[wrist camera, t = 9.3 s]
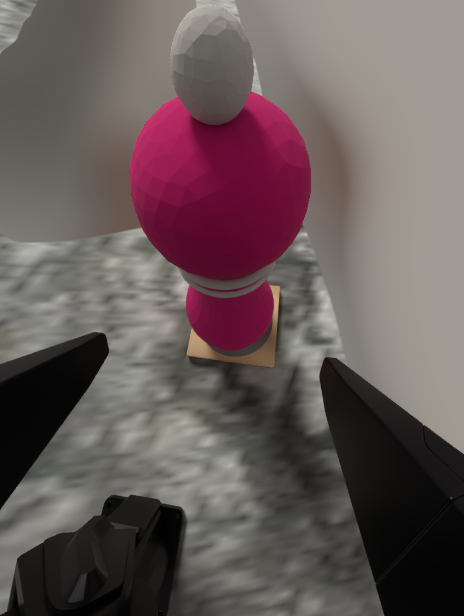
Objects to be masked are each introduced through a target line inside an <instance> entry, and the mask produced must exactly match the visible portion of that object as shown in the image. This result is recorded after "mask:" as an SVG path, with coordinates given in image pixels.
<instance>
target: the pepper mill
mask: <svg viewBox="0 0 464 616" xmlns="http://www.w3.org/2000/svg"><path fill="white" fill-rule="evenodd" d="M170 64H171V74H172V80H173V84H174V87H175V91H176V93H177V95H178V97H176V98H174V99H173V100H171V101H169V102H167V103H165V104H163V105H162V106H161V107H160V108H159V109H158V110H157V111H156V113H155V114H154V115H153V116H152V117H151V118H150V119H149V120H148V121H147V122H146V124H145V125H144V127H143V129H142V130H141V133H140V134H139V136H138V137H137V141H136V144H135V148H134V152H133V155H132V159H131V164H130V170H129V173H130V185H131V196H132V200H133V204H134V208H135V212H136V214H137V217H138V219H139V221H140V224H141V227H142V229H143V231H144V232H145V234H146V236H147V237H148V239H149V240H150V242H151V243H152V244H153V246H154V247H155V248H156V249H157V250H158V251H159V252H160V253H161V254H162V255H163V256H164V257H165V258H166V259H167V260H168V261H169V262H170V263H172V264H174V265H175V266H177V267H178V269H179V271H180V273H181V275H182V276H183V278H184V279H185V281H187V282H188V283H189V284H190V286H189V288H188V292H187V297H186V311H187V316H188V319H189V322H190V324H191V326H192V328H193V330H194V332H195V333H196V334H197V335H198V336H199V337H200V338H201V339H202V340H203V341H204V342H206V343H207V344H209V345H211V346H214V347H216V348H219V349H221V350H225V351H237V350H241V349H243V348H246V347H247V346H249V345H251V344H253V343H254V342H256V341H257V340H258V339H259V338H261V337H262V336H263V334H264V333H265V332H266V330H267V329H268V327H269V325H270V323H271V320H272V316H273V311H274V298H273V293H272V290H271V288H270V285H269V283H268V281H267V280H266V279H267V278H268V277H269V276H270V274H271V272H272V270H273V268H274V266H275V261H276V260H277V259H278V258H279V257H280V256H281V255H282V254H283V253H284V252H285V251H286V250H287V248H288V247H289V246H290V245H291V244H292V243H293V241H294V239H295V238H296V236H297V234H298V233H299V231H300V228H301V225H302V223H303V220H304V217H305V214H306V212H307V207H308V202H309V198H310V193H311V168H310V162H309V156H308V153H307V150H306V147H305V143H304V140H303V138H302V137H301V135H300V133H299V132H298V130H297V128H296V127H295V125H294V124H293V123H292V121H291V120H290V119H289V117H288V116H287V115H286V114H285V113H284V112H283V111H282V110H281V109H280V108H278V107H277V106H276V105H274V104H273V103H271V102H270V101H268V100H267V99H265V98H264V97H263V96H261V95H259V94H256V93H254V92H251V88H252V82H253V74H254V67H253V54H252V49H251V46H250V44H249V41H248V38H247V35H246V32H245V30H244V29H243V27H242V25H241V24H240V22H239V21H238V19H237V18H236V17H235V16H234V15H232V14H231V13H230V12H229V11H228V10H226V9H225V8H223V7H219V6H215V5H212V4H208V5H202V6H199V7H197V8H196V9H194V10H192V11H191V12H189V13H188V14H187V15H186V16H185V18H184V19H183V20H182V22H181V23H180V25H179V28H178V29H177V32H176V34H175V37H174V40H173V43H172V48H171V56H170Z"/></svg>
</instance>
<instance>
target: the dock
mask: <svg viewBox="0 0 464 616" xmlns="http://www.w3.org/2000/svg"><path fill="white" fill-rule="evenodd" d="M270 288H271V290H272V293H273V298H274V311H273V316H272V320H271V323H270V325H269V327H268V329H267V330H266V332H265V333H264V334H263V336H262V337H261V338H259V339H258V340H257V341H256V342H254V343H253V344H251V345H249V346H247V347H246V348H243V349H241V350H237V351H225V350H221V349H219V348H216V347H214V346H211V345H209V344H207V343H206V342H204V341H203V340H202V339H201V338H200V337H199V336H198V335H197V334H196V333H195V332H194V330H193V328H192V331H191V336H190V341H189V346H188V351H187V356H189V357H196V358H204V359H211V360H218V361H226V362H233V363H240V364H248V365H255V366H262V367H270V368H274V362H275V348H276V334H277V319H278V305H279V291H280V286H272V285H270Z"/></svg>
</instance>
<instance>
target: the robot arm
mask: <svg viewBox="0 0 464 616" xmlns="http://www.w3.org/2000/svg"><path fill="white" fill-rule="evenodd" d="M108 353H109V347H108V343H107V338H106V335H105V334H104V333H98V332H93V333H90V334H87V335H84V336H81V337H78V338H75V339H73V340H70V341H67V342H64V343H61V344H58V345H55V346H52V347H49V348H46V349H43V350H40V351H38V352H35V353H32V354H29V355H26V356H23V357H20V358H17V359H14V360H11V361H8V362H6V363H3V364H0V509H1V508H2V507H3V505H4V504H5V502H6V501H7V500H8V498H9V497H10V495H11V494H12V493H13V491H14V490H15V489H16V487H17V486H18V484H19V483H20V482H21V480H22V479H23V478H24V476H25V475H26V473H27V472H28V471H29V469H30V468H31V467H32V465H33V464H34V462H35V461H36V460H37V458H38V457H39V455H40V454H41V453H42V451H43V450H44V449H45V447H46V446H47V444H48V443H49V442H50V440H51V439H52V438H53V436H54V435H55V433H56V432H57V431H58V429H59V428H60V426H61V425H62V424H63V422H64V421H65V420H66V418H67V417H68V415H69V414H70V413H71V411H72V410H73V409H74V407H75V406H76V404H77V403H78V402H79V400H80V399H81V398H82V396H83V395H84V393H85V392H86V391H87V389H88V388H89V386H90V385H91V383H92V381H93V380H94V378H95V376H96V375H97V373H98V371H99V369H100V368H101V366H102V364H103V363H104V361H105V359H106V357H107V356H108ZM319 378H320V385H321V390H322V396H323V402H324V408H325V413H326V417H327V421H328V424H329V428H330V431H331V435H332V438H333V441H334V445H335V448H336V452H337V455H338V458H339V462H340V465H341V469H342V472H343V475H344V479H345V482H346V486H347V489H348V492H349V496H350V499H351V503H352V506H353V509H354V513H355V516H356V520H357V523H358V526H359V530H360V533H361V537H362V540H363V543H364V547H365V550H366V554H367V557H368V560H369V564H370V567H371V571H372V574H373V577H374V581H375V583H377V584H376V588H377V592H378V595H379V599H380V602H381V605H382V609H383V612H384V616H464V454H463V453H461V452H460V451H459V450H457V449H456V448H454V447H453V446H452V445H450V444H449V443H448V442H446V441H445V440H444V439H442V438H441V437H440V436H438V435H437V434H435V433H434V432H433V431H432V430H430V429H429V428H428V427H426V426H425V425H423V424H422V423H421V422H419V421H418V420H417V419H416V418H414V417H413V416H412V415H410V414H409V413H408V412H407V411H405V410H404V409H403V408H401V407H400V406H399V405H397V404H396V403H395V402H393V401H392V400H391V399H389V398H388V397H387V396H385V395H384V394H383V393H382V392H380V391H379V390H378V389H376V388H375V387H374V386H372V385H371V384H370V383H368V382H367V381H366V380H364V379H363V378H362V377H360V376H359V375H358V374H356V373H355V372H354V371H353V370H351V369H350V368H349V367H347V366H346V365H345V364H343V363H342V362H341V361H339V360H338V359H337V358H331V357H326V358H325V359H324V361H323V364H322V367H321V371H320V376H319ZM110 501H112V502H113V506H110ZM175 513H178V514H179V515H180V517H179V518H176V517H175ZM183 517H184V511H183V509H182V508H181V507H179V506H173V505H167V504H162V503H161V502H160V500H158V499H153V498H147V497H141V496H136V495H130V496H129V497H123V496H117V495H112V496H110V497H109V498H107V500H106V501H105V503H104V506H103V510H102V514H101V516H94V517H93V518H92V519H91V520H89V521H88V522H87V523H86V524H85V525H84V526H83V527H82V528H80V529H79V530H78V531H76V532H71V533H60V534H57V535H55V536H53V537H50V538H48V539H46V540H45V541H44V542H43V543H41V544H40V545H38V546H36V547H34V548H33V549H31V550H29V551H28V552H26V553H24V554H22V555H21V556H19V558H18V559H17V563H16V568H15V573H14V578H13V583H12V588H11V593H10V598H9V604H8V609H7V612H5V613H4V614H2V615H0V616H166V615H167V611H168V608H169V601H170V595H171V589H172V583H173V577H174V571H175V565H176V559H177V553H178V547H179V541H180V535H181V529H182V523H183ZM158 608H162V609H163V612H159V610H158Z"/></svg>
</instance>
